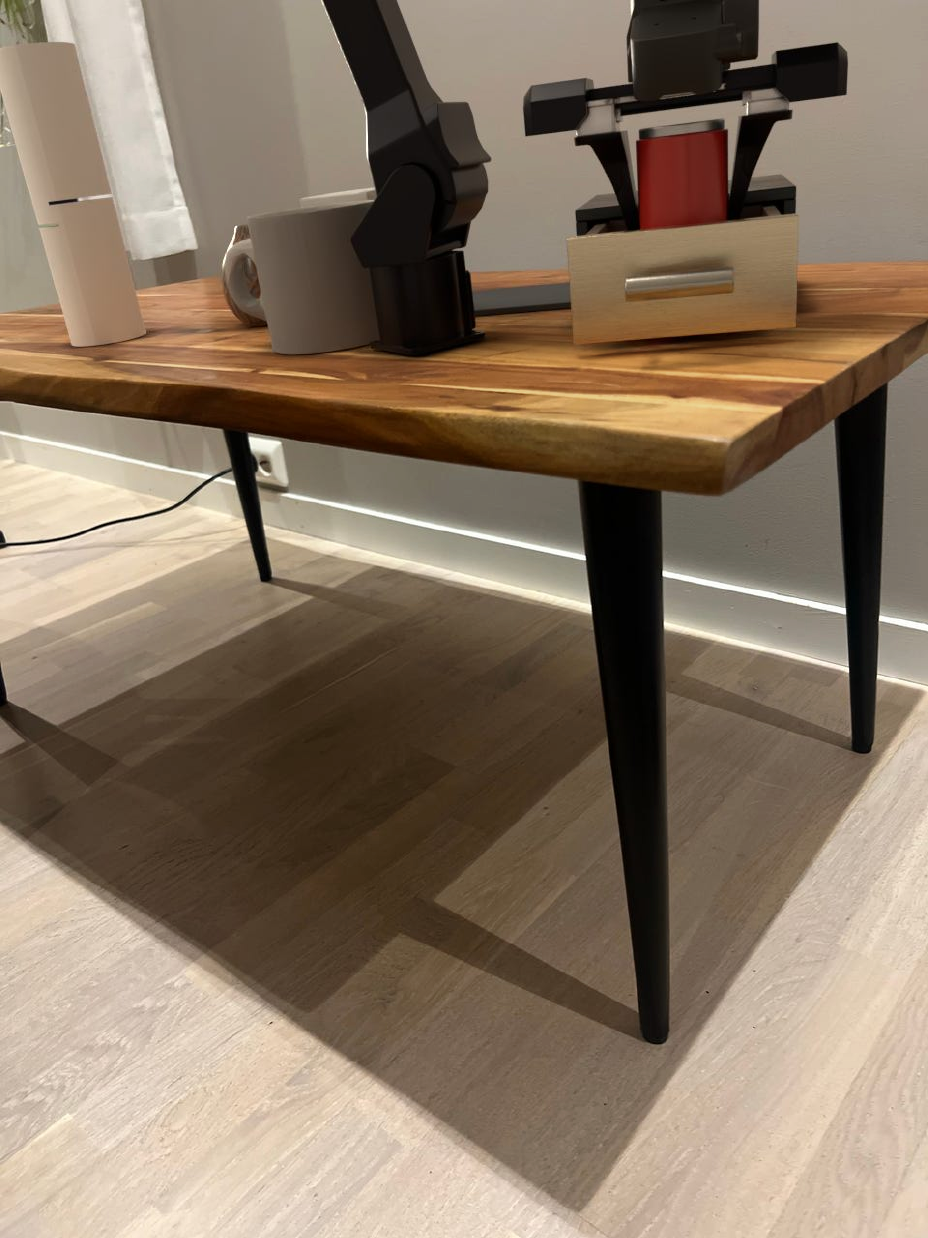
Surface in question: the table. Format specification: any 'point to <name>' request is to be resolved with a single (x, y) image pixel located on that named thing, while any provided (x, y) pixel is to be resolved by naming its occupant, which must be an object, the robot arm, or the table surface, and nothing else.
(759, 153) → the robot arm
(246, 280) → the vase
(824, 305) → the table surface
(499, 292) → the mat
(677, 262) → the drawer
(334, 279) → the coffee mug
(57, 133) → the cylindrical container
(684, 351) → the table surface
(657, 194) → the can
